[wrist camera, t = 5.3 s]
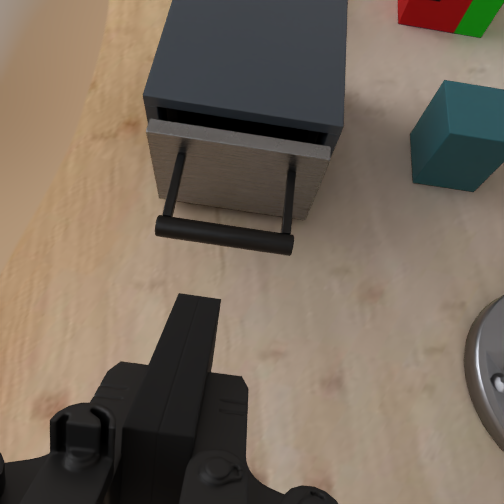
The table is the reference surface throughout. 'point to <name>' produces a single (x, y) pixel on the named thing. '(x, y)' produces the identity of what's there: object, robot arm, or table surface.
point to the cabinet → (254, 63)
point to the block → (459, 137)
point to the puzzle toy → (449, 15)
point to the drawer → (234, 176)
